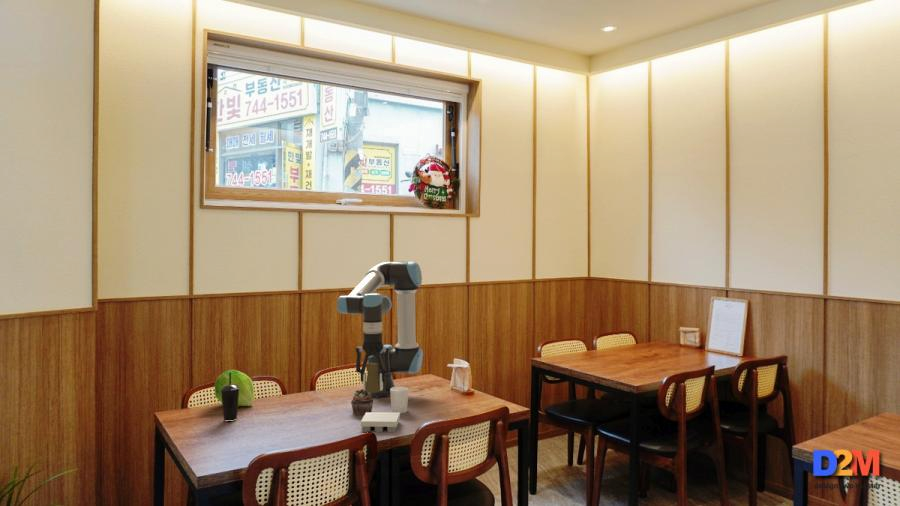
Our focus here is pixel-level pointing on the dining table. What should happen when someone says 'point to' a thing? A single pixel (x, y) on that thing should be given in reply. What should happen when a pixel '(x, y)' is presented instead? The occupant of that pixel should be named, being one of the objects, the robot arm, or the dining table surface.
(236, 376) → the lettuce
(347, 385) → the dining table surface
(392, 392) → the white cup
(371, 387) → the cork
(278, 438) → the dining table surface
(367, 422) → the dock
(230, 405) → the drinking cup
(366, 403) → the cupcake
